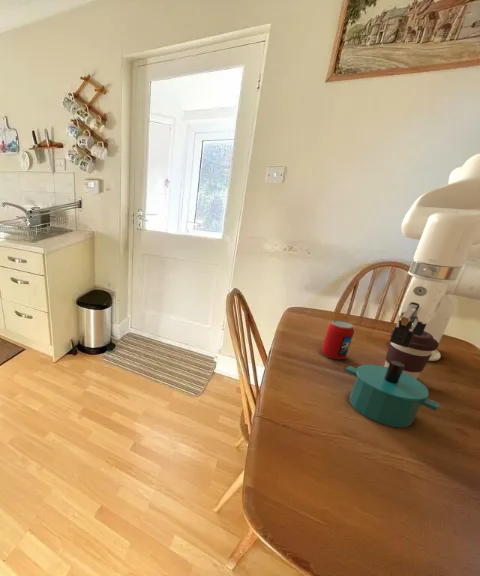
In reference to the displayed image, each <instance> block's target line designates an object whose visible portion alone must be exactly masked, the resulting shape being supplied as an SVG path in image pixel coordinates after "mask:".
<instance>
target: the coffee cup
mask: <svg viewBox="0 0 480 576" xmlns="http://www.w3.org/2000/svg"><path fill="white" fill-rule="evenodd" d="M393 332H394V329H393V330H392V331H391V332H390V335H389V337H390V339H391V337H392V334H393ZM389 343H390V344H388V348H387V351H386V354H385V362H384V365H383V366H384V367H389V364H390V362H391V361H398V362H401V363H403V364H404V365H405V367H404V369H403V371H402V372H403V373H405V374H407V375H409V376H411V377H413V378H415V379H417V380H418V378H419V375H420V374H421V373H422V372H423V371H424V369H425V367H426V365H427V364H428V362H429V361H428V360H429V358H430V357H431V353H432V351H434V350H437V349H438V348H439V345H440V342H439V343H438V342H437V341H436V340H435V339H433V336H432V335H431V334H429V333H427V332H425V331H424V332H423V334H422V335H421V336H419V335H415V334H414V335H413V337H412V340H411V342H410V345H409V346H408V347H403V346H400V345H397V344H394V343H392V342H390V341H389Z"/></svg>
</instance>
